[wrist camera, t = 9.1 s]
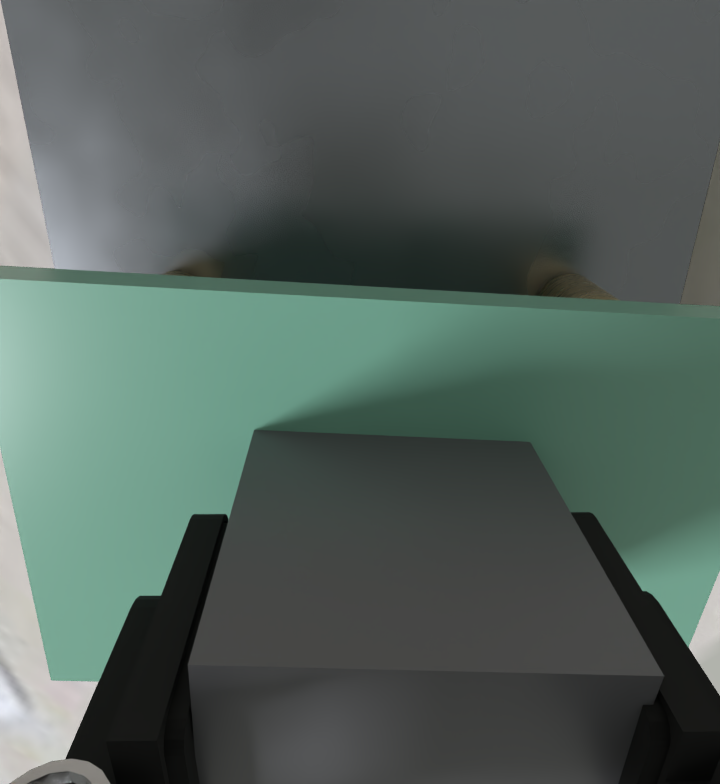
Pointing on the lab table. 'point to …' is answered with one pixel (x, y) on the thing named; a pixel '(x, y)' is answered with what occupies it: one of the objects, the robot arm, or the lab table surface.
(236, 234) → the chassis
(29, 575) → the circuit board
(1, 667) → the lab table surface
